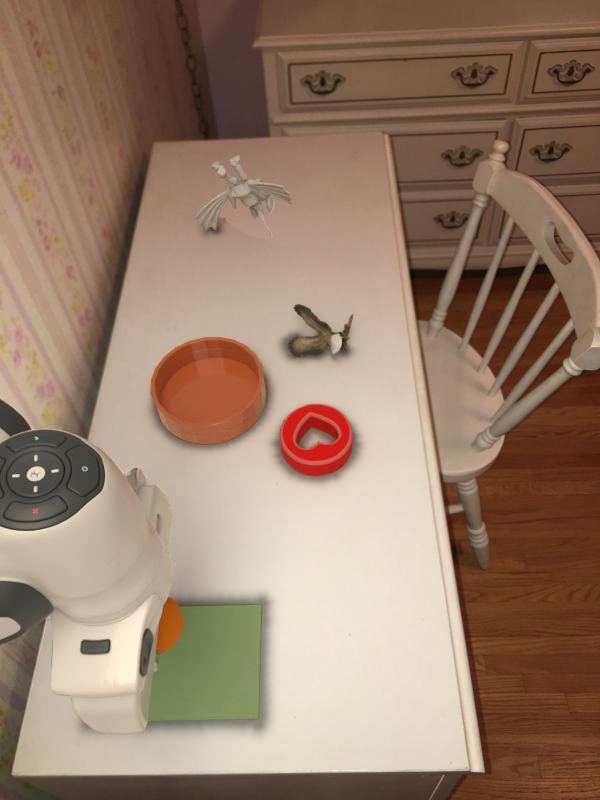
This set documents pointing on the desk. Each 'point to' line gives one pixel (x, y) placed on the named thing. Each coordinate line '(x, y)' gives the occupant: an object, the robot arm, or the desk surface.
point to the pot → (209, 390)
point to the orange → (169, 626)
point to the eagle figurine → (323, 340)
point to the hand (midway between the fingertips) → (154, 626)
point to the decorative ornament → (321, 455)
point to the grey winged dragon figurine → (242, 195)
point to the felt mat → (210, 666)
